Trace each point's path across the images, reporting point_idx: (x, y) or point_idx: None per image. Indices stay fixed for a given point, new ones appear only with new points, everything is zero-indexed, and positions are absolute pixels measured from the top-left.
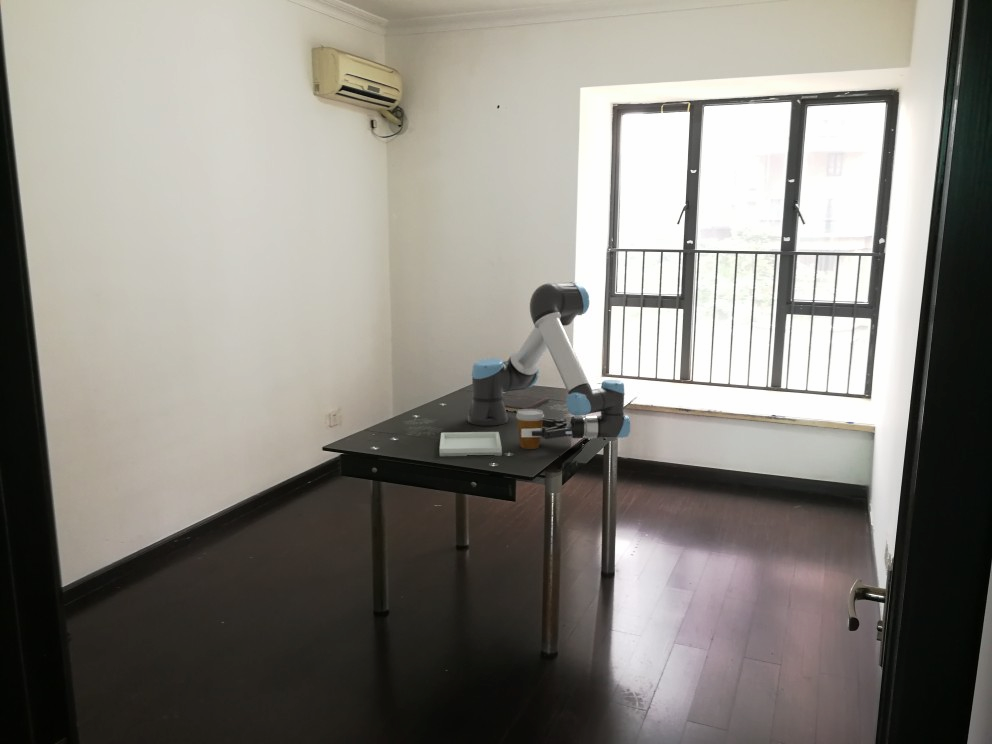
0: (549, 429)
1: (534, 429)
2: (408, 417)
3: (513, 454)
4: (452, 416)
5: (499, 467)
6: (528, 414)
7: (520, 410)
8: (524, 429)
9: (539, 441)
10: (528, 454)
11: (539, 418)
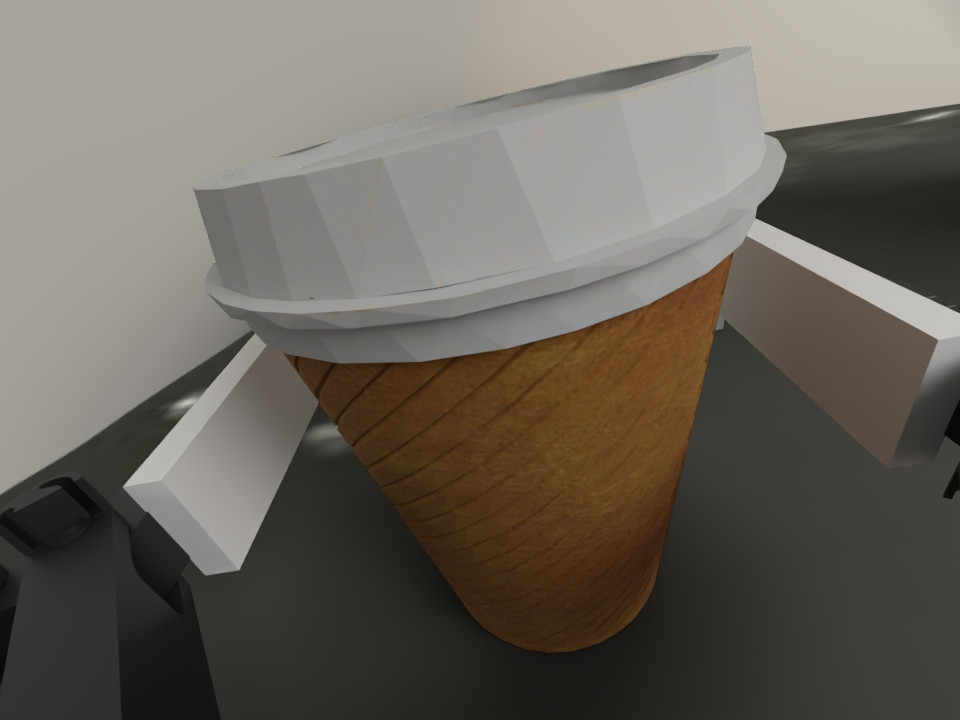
0: (15, 660)
1: (197, 409)
2: (888, 119)
3: (331, 452)
4: None
5: (134, 428)
6: (344, 160)
7: (568, 84)
8: (255, 336)
9: (504, 615)
10: (288, 550)
11: (213, 298)
